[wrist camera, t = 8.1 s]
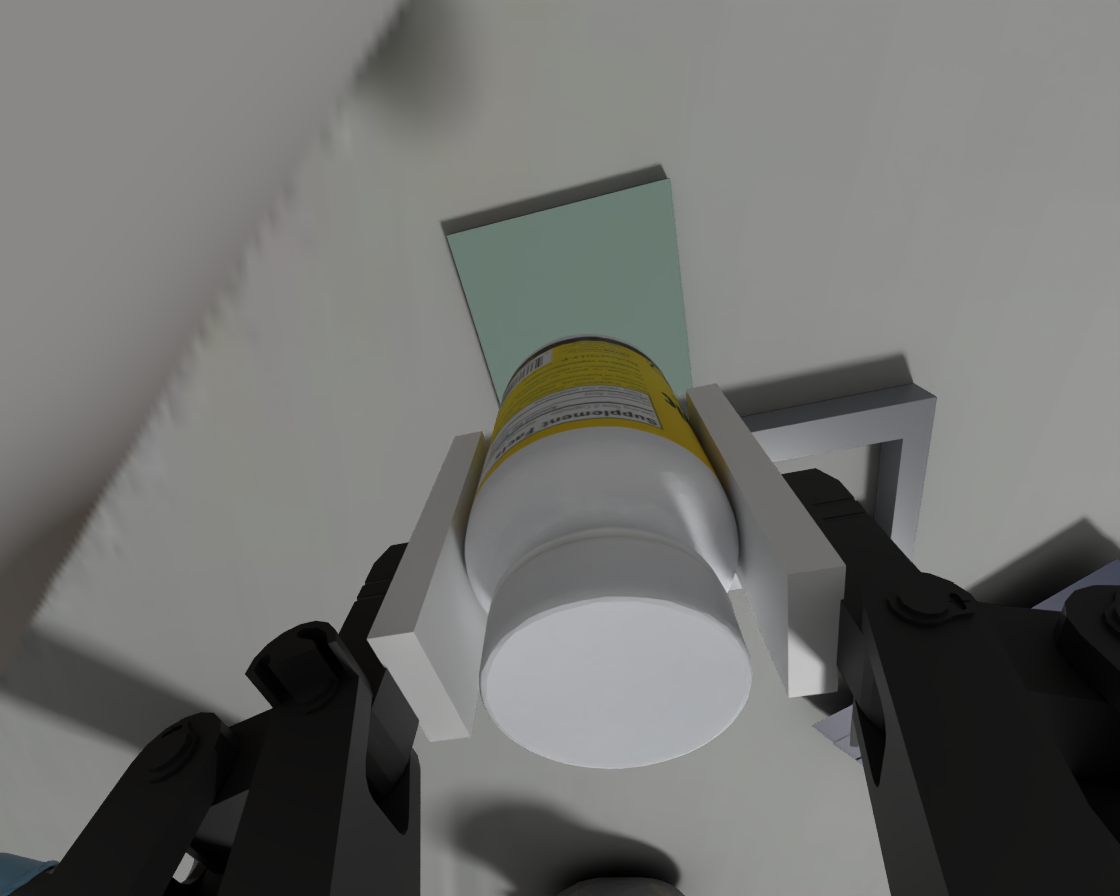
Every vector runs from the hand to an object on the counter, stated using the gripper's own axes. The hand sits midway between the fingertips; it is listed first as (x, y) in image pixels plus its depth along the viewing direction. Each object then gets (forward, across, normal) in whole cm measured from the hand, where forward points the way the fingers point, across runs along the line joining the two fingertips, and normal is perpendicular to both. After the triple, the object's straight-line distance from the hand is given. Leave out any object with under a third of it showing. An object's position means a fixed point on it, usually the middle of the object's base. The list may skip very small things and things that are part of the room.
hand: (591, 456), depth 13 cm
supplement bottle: (+3, 0, 0) cm, 3 cm away
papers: (+16, +30, -42) cm, 54 cm away
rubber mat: (+15, 0, 0) cm, 15 cm away
